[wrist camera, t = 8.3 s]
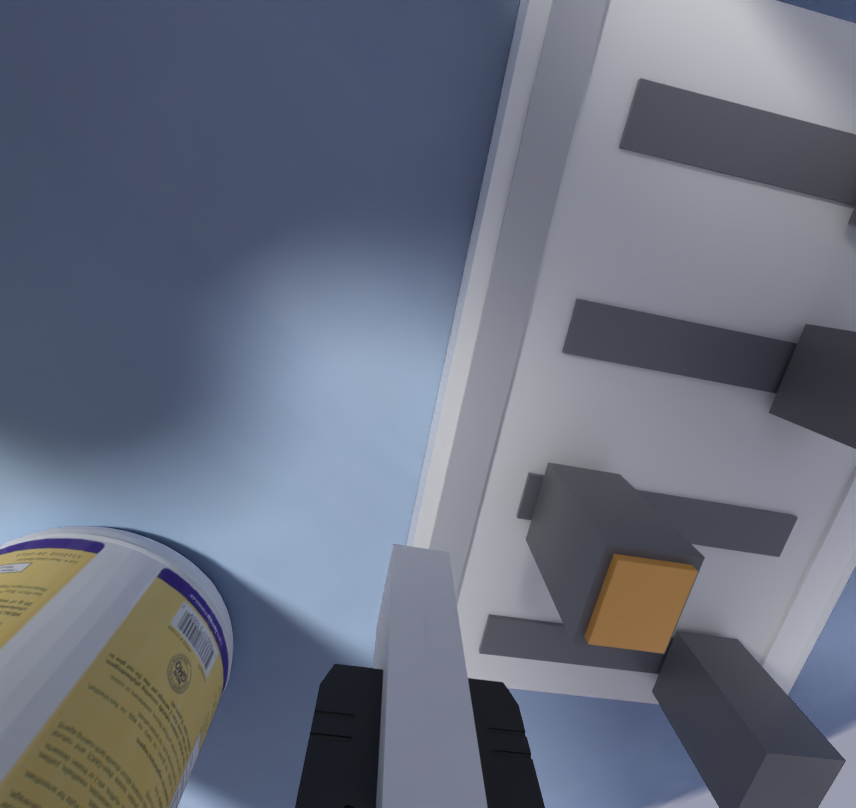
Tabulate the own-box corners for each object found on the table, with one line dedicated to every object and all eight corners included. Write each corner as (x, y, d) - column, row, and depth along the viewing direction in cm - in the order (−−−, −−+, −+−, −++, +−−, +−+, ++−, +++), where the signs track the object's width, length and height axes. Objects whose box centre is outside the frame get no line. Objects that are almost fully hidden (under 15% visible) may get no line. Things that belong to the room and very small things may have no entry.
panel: (385, 641, 24) (384, 678, 22) (526, -29, 16) (545, -73, 14) (748, 683, 26) (779, 721, 24) (1028, 112, 18) (1110, 93, 16)
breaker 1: (525, 539, 19) (575, 651, 14) (548, 462, 18) (611, 549, 13) (594, 549, 20) (669, 662, 14) (619, 473, 19) (711, 563, 13)
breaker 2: (651, 691, 22) (729, 824, 17) (676, 631, 21) (767, 753, 16) (710, 697, 23) (803, 830, 17) (737, 638, 22) (845, 760, 16)
